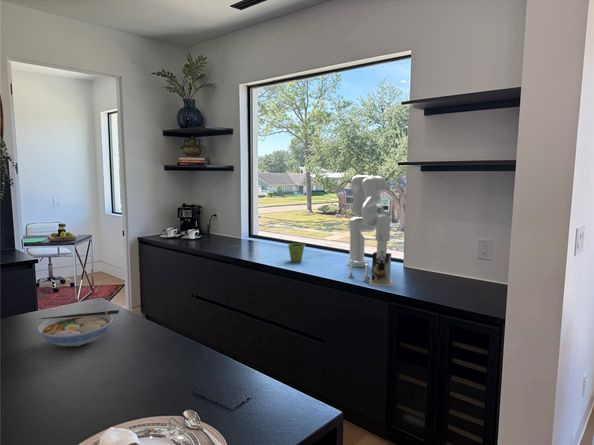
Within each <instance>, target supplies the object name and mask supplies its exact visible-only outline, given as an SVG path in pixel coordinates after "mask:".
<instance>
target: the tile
mask: <svg viewBox="0 0 594 445" xmlns="http://www.w3.org/2000/svg"><path fill="white" fill-rule="evenodd" d="M371 281H372V278H369V283H368V285H369V286H374V287H375V286H376V287H377V286H379V287H389V288H392V287H393V280H392V279H390V282H389V283H388V284H384V283H376V282H371Z"/></svg>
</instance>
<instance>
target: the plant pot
mask: <svg viewBox="0 0 594 445" xmlns="http://www.w3.org/2000/svg"><path fill="white" fill-rule="evenodd" d="M287 246H288V251H289V257H290V261H291V262H292V263H300V262H302V259H303V254H304V253H303V252H304V249H305V246H306V244H303V243H290V244H287Z"/></svg>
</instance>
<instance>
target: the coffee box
mask: <svg viewBox="0 0 594 445" xmlns="http://www.w3.org/2000/svg"><path fill="white" fill-rule="evenodd" d="M383 258H384V263H385V268H384V271H382V270H378V266H379V258H378V259H377V251H375V252H372V262H371V263H372V265H371V267H372V268H371V279H372V281H371V282H376V283H384V284H388V283H389V282H390V280H391V268H392V267H391V265H392V264H391V262H392V253H389V252H387V253H386V259H385V257H383Z"/></svg>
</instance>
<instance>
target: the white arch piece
mask: <svg viewBox="0 0 594 445" xmlns="http://www.w3.org/2000/svg"><path fill="white" fill-rule="evenodd" d="M353 263H363V264H366V265H365V266H364V268H365V270H364V272H365V273H364V277H363V283H366V284H367V283H368V284H370V276H369V263H370V262H369V261H364V262H358V261H350V266H349V275H348V279H354V275H353V269H354V268H353Z"/></svg>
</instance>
